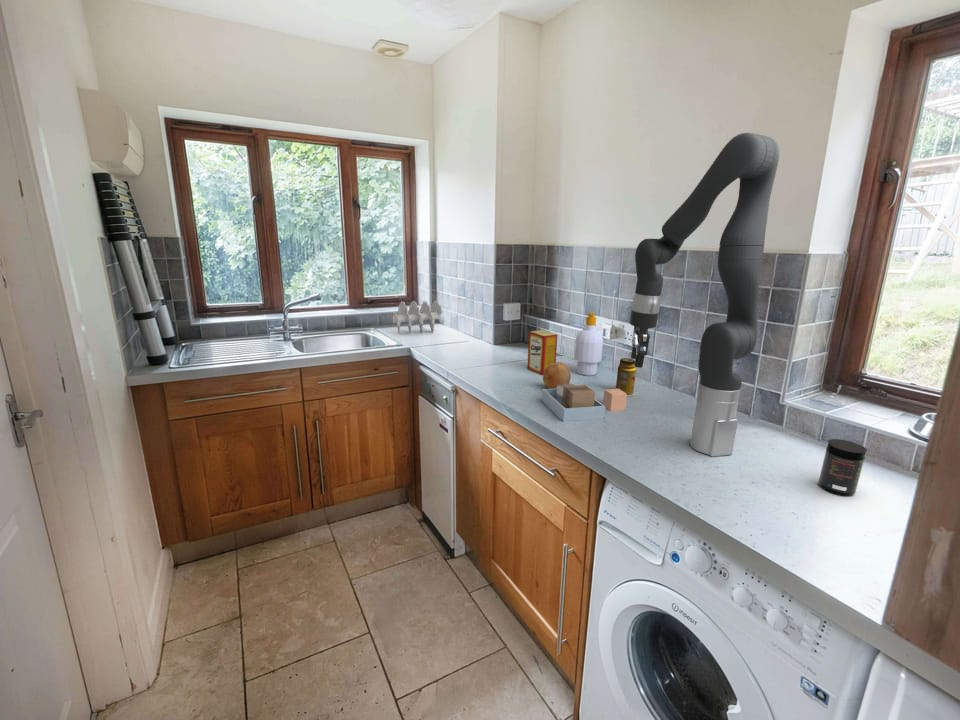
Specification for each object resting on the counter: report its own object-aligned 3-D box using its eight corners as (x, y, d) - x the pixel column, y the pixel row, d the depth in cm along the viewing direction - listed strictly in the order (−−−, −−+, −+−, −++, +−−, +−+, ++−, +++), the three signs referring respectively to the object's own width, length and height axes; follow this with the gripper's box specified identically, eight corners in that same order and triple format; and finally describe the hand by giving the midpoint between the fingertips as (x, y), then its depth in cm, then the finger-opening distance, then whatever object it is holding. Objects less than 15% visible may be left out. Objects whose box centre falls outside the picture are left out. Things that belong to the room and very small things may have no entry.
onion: (548, 383, 170) (549, 357, 167) (574, 388, 165) (576, 361, 162) (537, 391, 162) (538, 363, 159) (564, 396, 157) (566, 368, 154)
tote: (604, 420, 137) (605, 406, 136) (563, 423, 134) (564, 409, 133) (578, 399, 154) (579, 387, 153) (541, 402, 151) (542, 389, 150)
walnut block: (592, 417, 137) (595, 392, 135) (570, 419, 136) (572, 393, 134) (582, 409, 144) (584, 384, 142) (561, 410, 142) (563, 385, 140)
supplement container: (850, 485, 104) (861, 442, 101) (859, 500, 98) (871, 455, 95) (814, 478, 106) (824, 436, 104) (820, 492, 100) (831, 448, 98)
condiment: (638, 394, 161) (642, 360, 158) (622, 398, 157) (626, 364, 153) (622, 388, 167) (625, 356, 164) (605, 392, 162) (609, 359, 159)
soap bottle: (572, 375, 180) (577, 314, 174) (574, 368, 190) (578, 310, 183) (600, 378, 178) (605, 316, 171) (599, 370, 187) (605, 311, 181)
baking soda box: (554, 373, 183) (557, 333, 179) (542, 375, 180) (544, 335, 176) (540, 367, 191) (542, 329, 187) (527, 369, 188) (529, 330, 184)
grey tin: (579, 407, 145) (580, 389, 144) (560, 408, 144) (561, 390, 142) (571, 400, 151) (572, 382, 150) (552, 401, 150) (553, 383, 148)
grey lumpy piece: (393, 339, 252) (437, 334, 260) (398, 331, 236) (445, 327, 244) (388, 307, 255) (432, 303, 263) (392, 297, 238) (439, 294, 246)
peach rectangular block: (624, 411, 144) (626, 393, 143) (610, 413, 143) (612, 394, 142) (616, 406, 149) (618, 388, 147) (602, 407, 148) (604, 389, 146)
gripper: (663, 315, 126) (653, 371, 131) (654, 306, 140) (645, 357, 145) (634, 313, 128) (626, 368, 133) (628, 304, 141) (621, 354, 146)
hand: (636, 362), depth 139 cm, fingers open, 8 cm apart
